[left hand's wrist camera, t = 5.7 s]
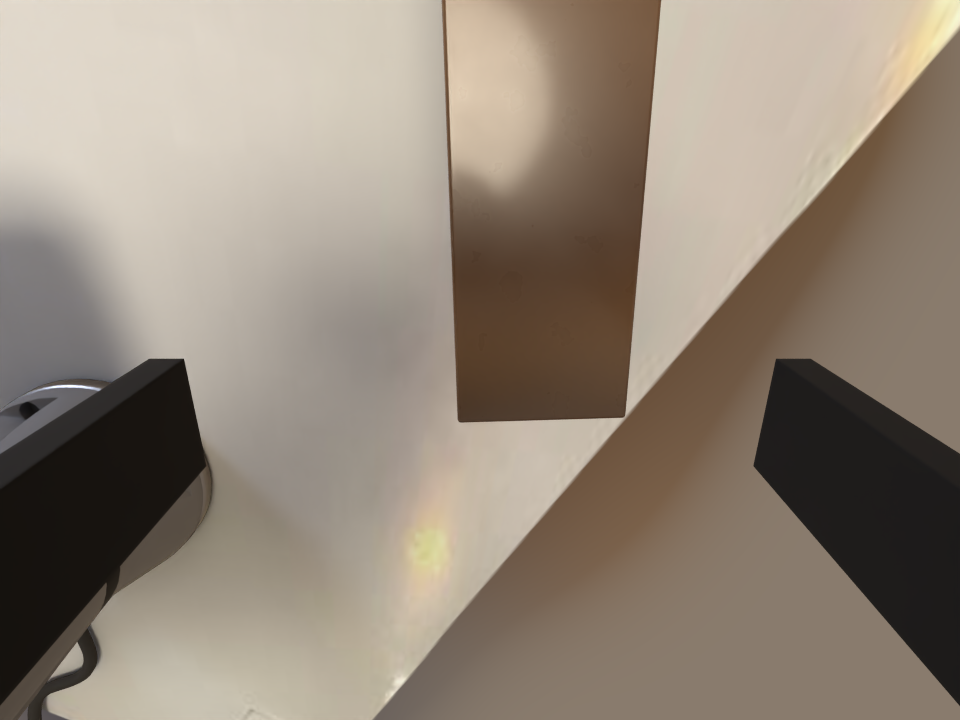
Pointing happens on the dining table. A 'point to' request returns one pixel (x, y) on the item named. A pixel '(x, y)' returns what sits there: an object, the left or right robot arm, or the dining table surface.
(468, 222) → the bar
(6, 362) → the dining table surface
